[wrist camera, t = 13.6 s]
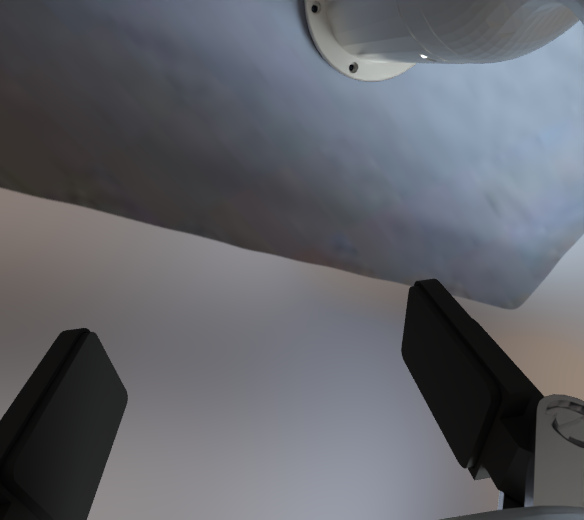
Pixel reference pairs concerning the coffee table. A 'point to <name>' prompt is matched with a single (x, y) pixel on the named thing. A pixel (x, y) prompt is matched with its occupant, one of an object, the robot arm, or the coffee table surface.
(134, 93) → the coffee table surface
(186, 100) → the coffee table surface
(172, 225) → the coffee table surface
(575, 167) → the coffee table surface
